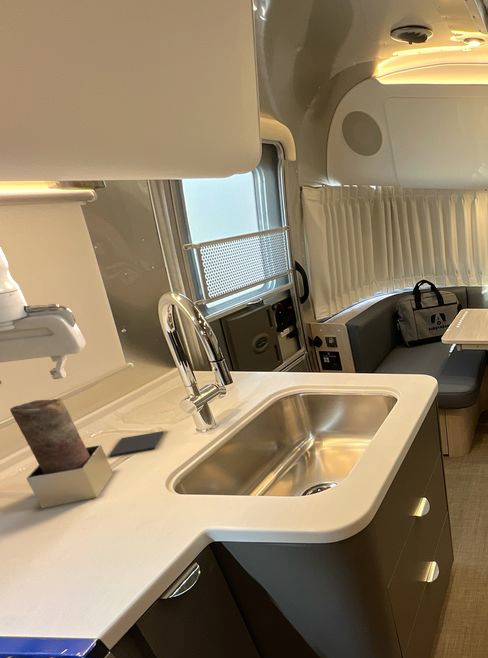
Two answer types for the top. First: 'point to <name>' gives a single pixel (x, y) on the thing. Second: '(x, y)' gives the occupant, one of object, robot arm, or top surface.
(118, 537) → the top surface
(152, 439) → the mat
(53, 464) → the candle
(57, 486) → the beige open box
